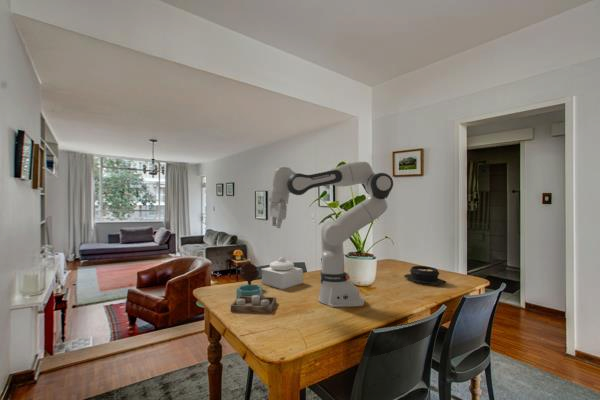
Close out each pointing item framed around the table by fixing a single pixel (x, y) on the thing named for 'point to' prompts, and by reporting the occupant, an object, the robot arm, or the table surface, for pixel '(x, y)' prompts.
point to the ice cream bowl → (249, 272)
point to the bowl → (249, 290)
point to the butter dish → (282, 274)
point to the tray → (250, 308)
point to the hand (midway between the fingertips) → (276, 226)
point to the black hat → (424, 275)
